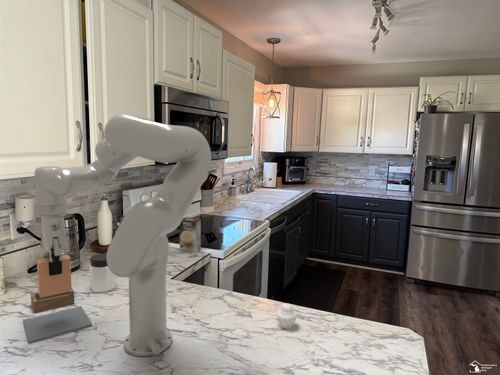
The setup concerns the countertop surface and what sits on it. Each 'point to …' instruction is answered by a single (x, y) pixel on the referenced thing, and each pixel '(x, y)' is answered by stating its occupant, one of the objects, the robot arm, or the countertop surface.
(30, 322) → the mat
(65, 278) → the orange block
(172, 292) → the countertop surface
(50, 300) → the dispenser
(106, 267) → the jar
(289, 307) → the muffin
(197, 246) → the coffee box
